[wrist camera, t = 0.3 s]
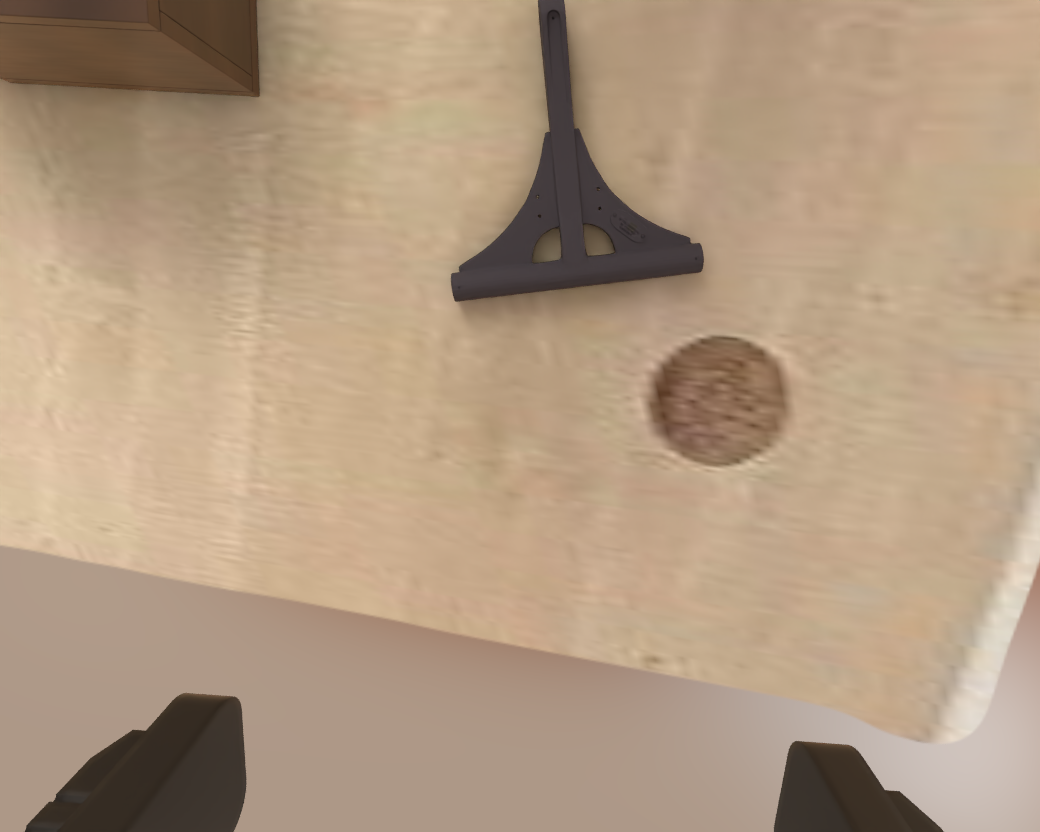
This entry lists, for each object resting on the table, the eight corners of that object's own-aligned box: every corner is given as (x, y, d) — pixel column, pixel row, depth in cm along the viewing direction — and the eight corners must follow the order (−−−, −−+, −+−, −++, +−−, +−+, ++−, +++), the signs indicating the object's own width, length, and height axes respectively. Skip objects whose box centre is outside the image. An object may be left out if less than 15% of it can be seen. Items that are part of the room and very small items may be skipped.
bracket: (682, -10, 31) (695, -38, 28) (696, 272, 34) (709, 271, 32) (420, 30, 32) (409, 7, 30) (458, 301, 35) (450, 302, 33)
